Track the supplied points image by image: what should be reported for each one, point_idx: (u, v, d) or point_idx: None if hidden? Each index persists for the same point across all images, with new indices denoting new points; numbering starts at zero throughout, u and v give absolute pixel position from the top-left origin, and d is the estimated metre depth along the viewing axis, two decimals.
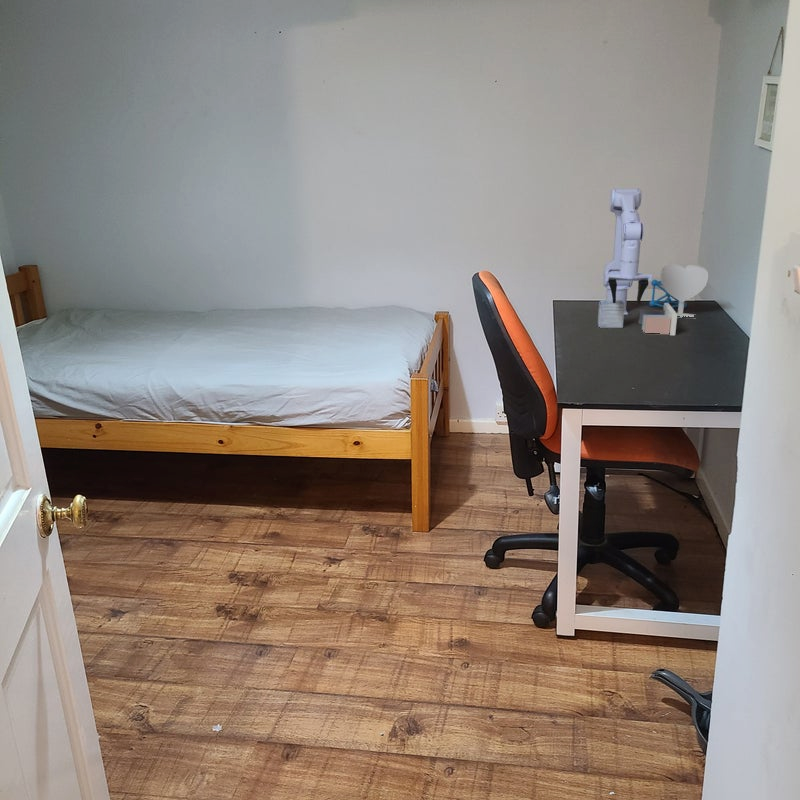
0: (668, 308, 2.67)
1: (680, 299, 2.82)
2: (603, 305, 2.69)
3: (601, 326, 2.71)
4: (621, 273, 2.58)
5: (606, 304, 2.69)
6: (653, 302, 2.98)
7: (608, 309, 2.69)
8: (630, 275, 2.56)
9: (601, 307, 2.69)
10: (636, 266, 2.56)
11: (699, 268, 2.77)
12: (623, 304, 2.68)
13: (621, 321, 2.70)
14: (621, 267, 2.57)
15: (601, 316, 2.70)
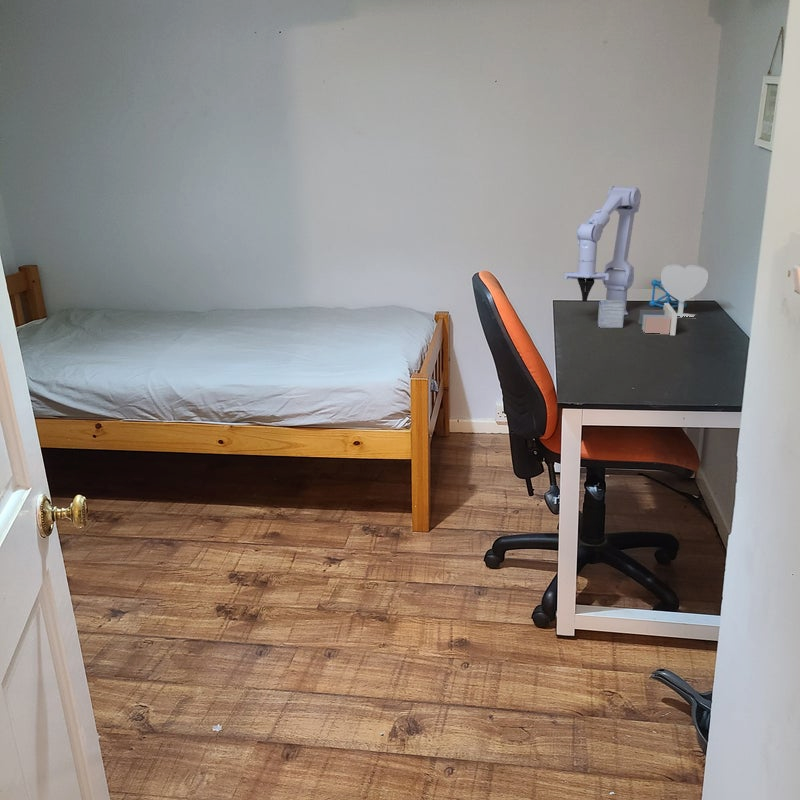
0: (668, 308, 2.67)
1: (680, 299, 2.82)
2: (603, 305, 2.69)
3: (601, 326, 2.71)
4: (579, 272, 2.67)
5: (606, 304, 2.69)
6: (653, 302, 2.98)
7: (608, 309, 2.69)
8: (587, 274, 2.65)
9: (601, 307, 2.69)
10: (593, 265, 2.65)
11: (699, 268, 2.77)
12: (623, 304, 2.68)
13: (621, 321, 2.70)
14: (579, 266, 2.67)
15: (601, 316, 2.70)
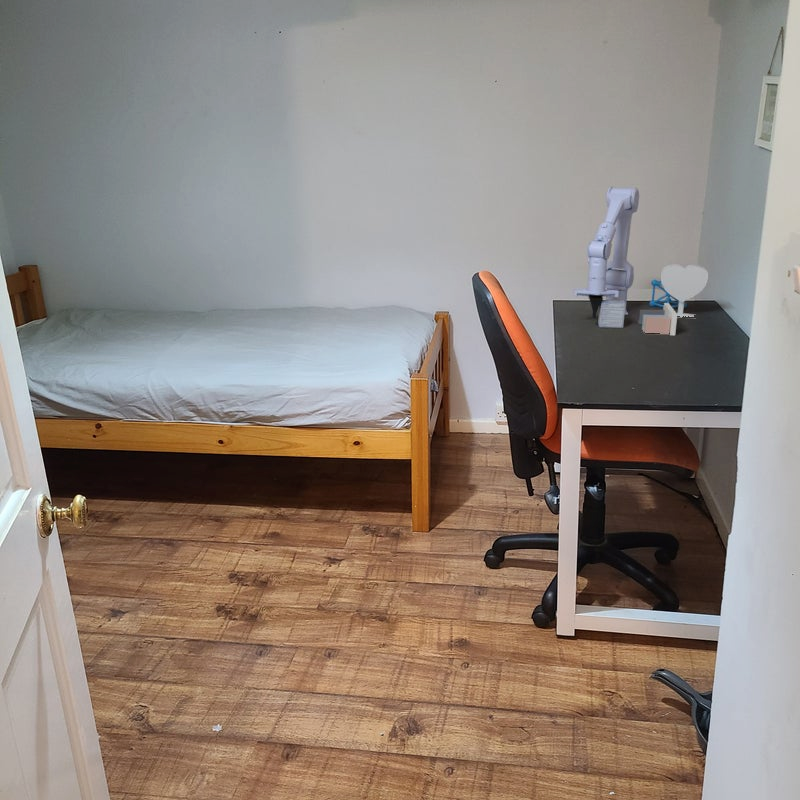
0: (668, 308, 2.67)
1: (680, 299, 2.82)
2: (604, 305, 2.69)
3: (601, 326, 2.71)
4: (589, 289, 2.68)
5: (607, 304, 2.68)
6: (653, 302, 2.98)
7: (608, 308, 2.69)
8: (597, 291, 2.67)
9: (602, 307, 2.69)
10: (603, 282, 2.66)
11: (699, 268, 2.77)
12: (624, 304, 2.68)
13: (621, 321, 2.70)
14: (589, 283, 2.68)
15: (602, 316, 2.70)
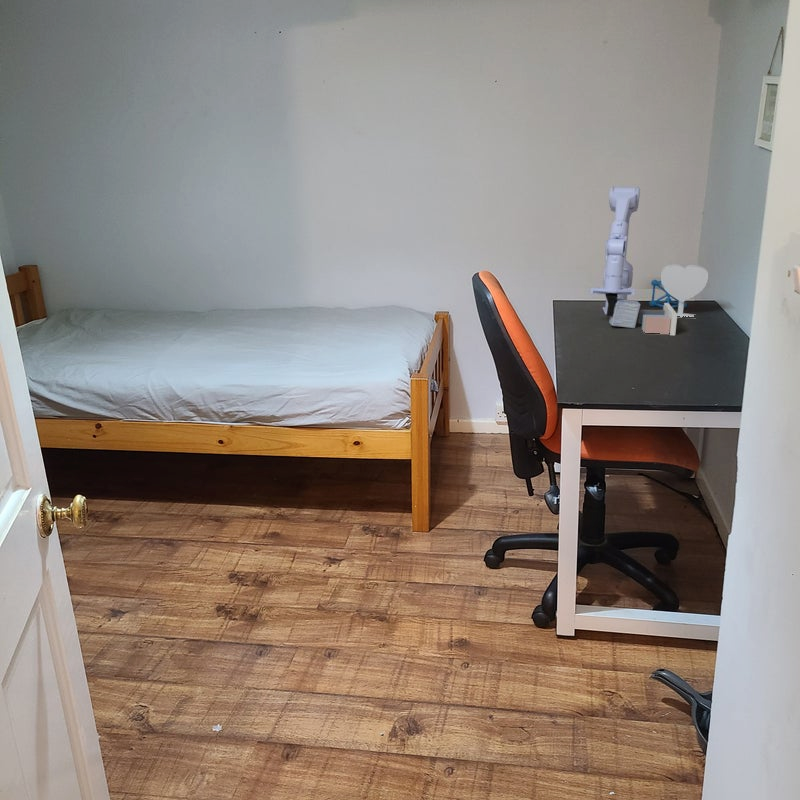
0: (668, 308, 2.67)
1: (680, 299, 2.82)
2: (619, 303, 2.67)
3: (614, 324, 2.70)
4: (605, 287, 2.67)
5: (622, 302, 2.67)
6: (653, 302, 2.98)
7: (623, 307, 2.68)
8: (614, 289, 2.65)
9: (617, 305, 2.67)
10: (620, 280, 2.65)
11: (699, 268, 2.77)
12: (639, 304, 2.67)
13: (634, 321, 2.69)
14: (605, 281, 2.67)
15: (616, 314, 2.68)
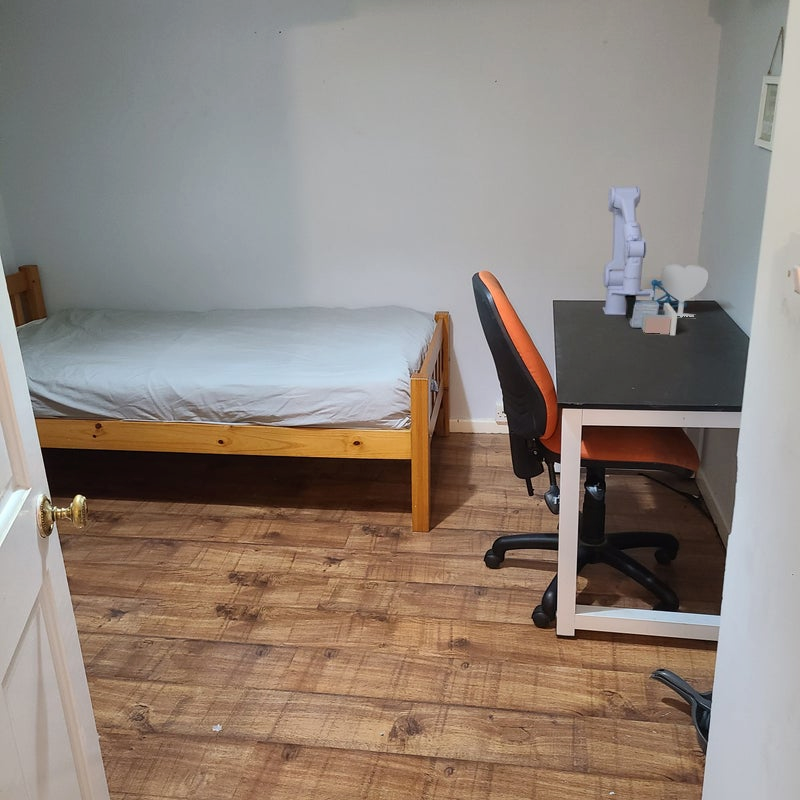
0: (668, 308, 2.67)
1: (680, 299, 2.82)
2: (637, 305, 2.67)
3: (634, 326, 2.69)
4: (624, 289, 2.67)
5: (640, 304, 2.67)
6: None
7: (642, 309, 2.67)
8: (633, 291, 2.65)
9: (635, 306, 2.67)
10: (638, 282, 2.65)
11: (699, 268, 2.77)
12: (657, 304, 2.67)
13: None
14: (624, 283, 2.66)
15: (635, 316, 2.68)
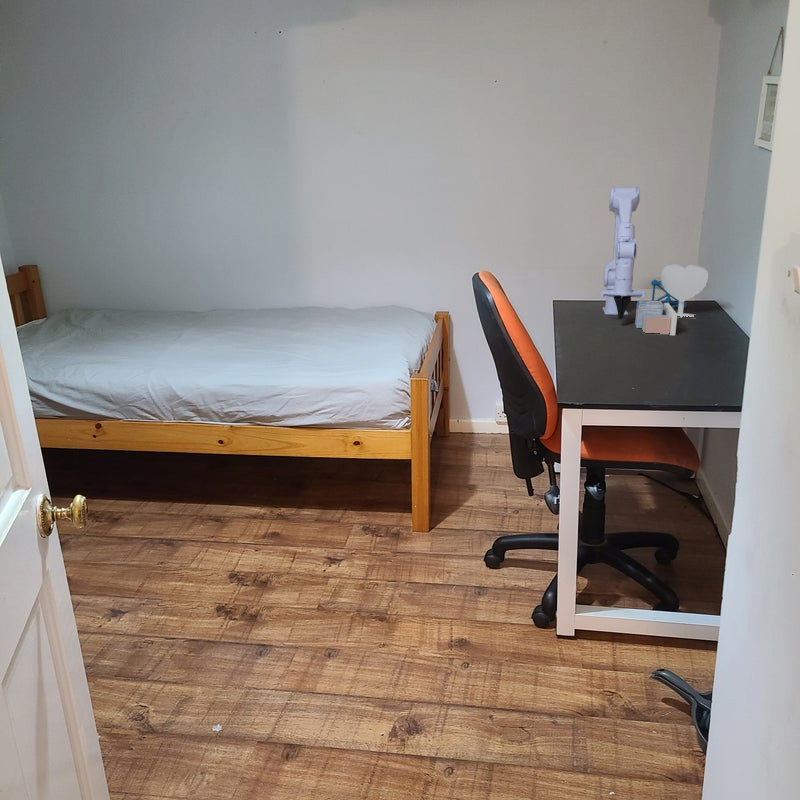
0: (668, 308, 2.67)
1: (680, 299, 2.82)
2: (641, 306, 2.67)
3: (639, 327, 2.70)
4: (615, 290, 2.67)
5: (644, 305, 2.67)
6: None
7: (646, 309, 2.67)
8: (624, 292, 2.66)
9: (639, 308, 2.68)
10: (630, 283, 2.65)
11: (699, 268, 2.77)
12: (662, 305, 2.66)
13: None
14: (615, 284, 2.67)
15: (639, 317, 2.68)
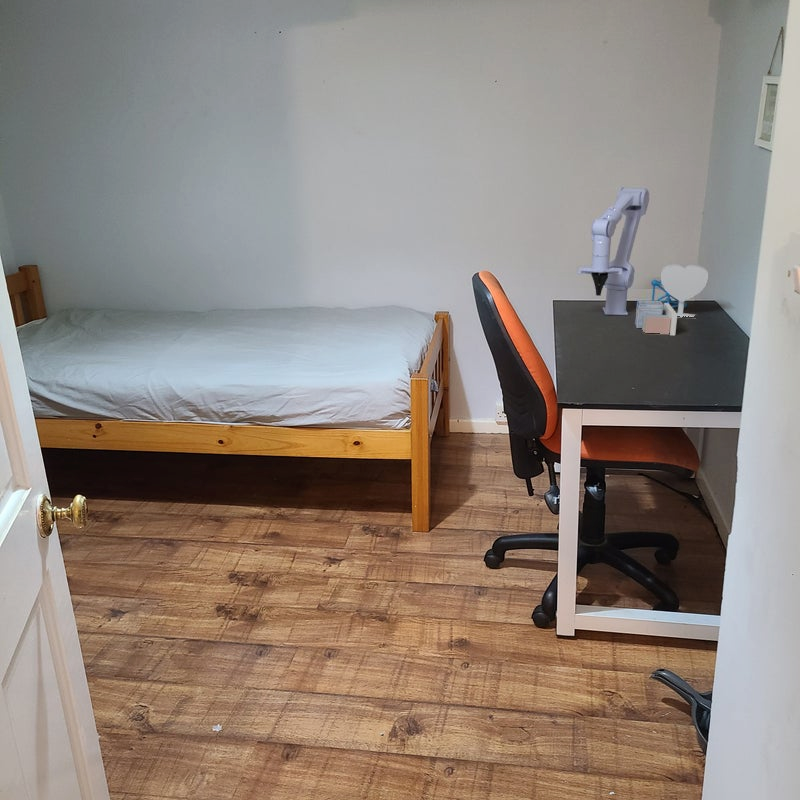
0: (668, 308, 2.67)
1: (680, 299, 2.82)
2: (641, 306, 2.67)
3: (639, 327, 2.70)
4: (593, 267, 2.72)
5: (644, 305, 2.67)
6: None
7: (646, 309, 2.67)
8: (601, 269, 2.70)
9: (639, 308, 2.67)
10: (607, 260, 2.70)
11: (699, 268, 2.77)
12: (662, 305, 2.66)
13: None
14: (593, 261, 2.71)
15: (639, 317, 2.68)
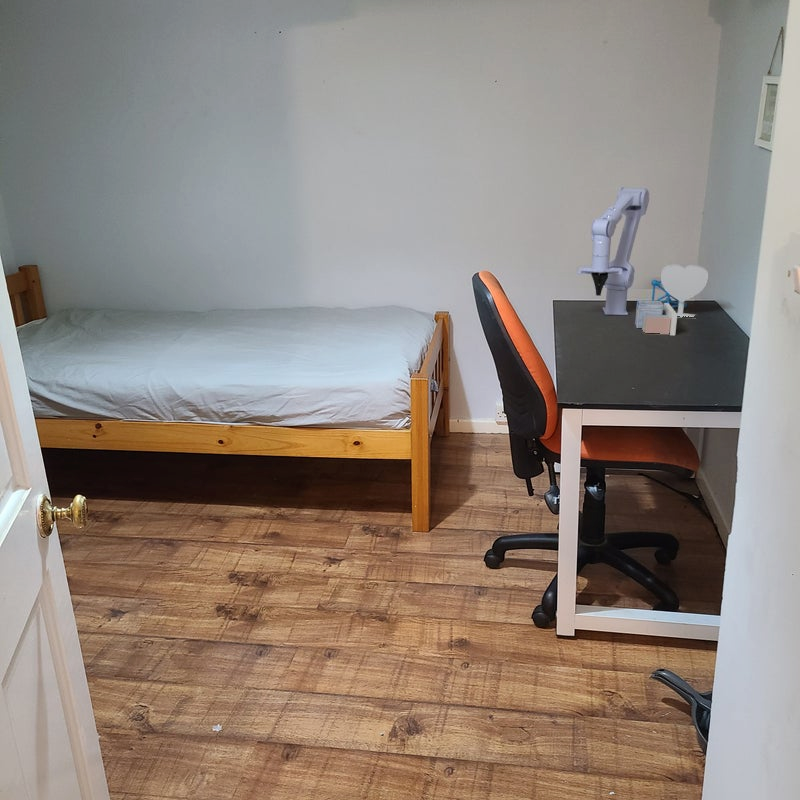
0: (668, 308, 2.67)
1: (680, 299, 2.82)
2: (641, 306, 2.67)
3: (639, 327, 2.70)
4: (593, 267, 2.72)
5: (644, 305, 2.67)
6: None
7: (646, 309, 2.67)
8: (601, 269, 2.70)
9: (639, 308, 2.67)
10: (607, 260, 2.70)
11: (699, 268, 2.77)
12: (662, 305, 2.66)
13: None
14: (593, 261, 2.71)
15: (639, 317, 2.68)
